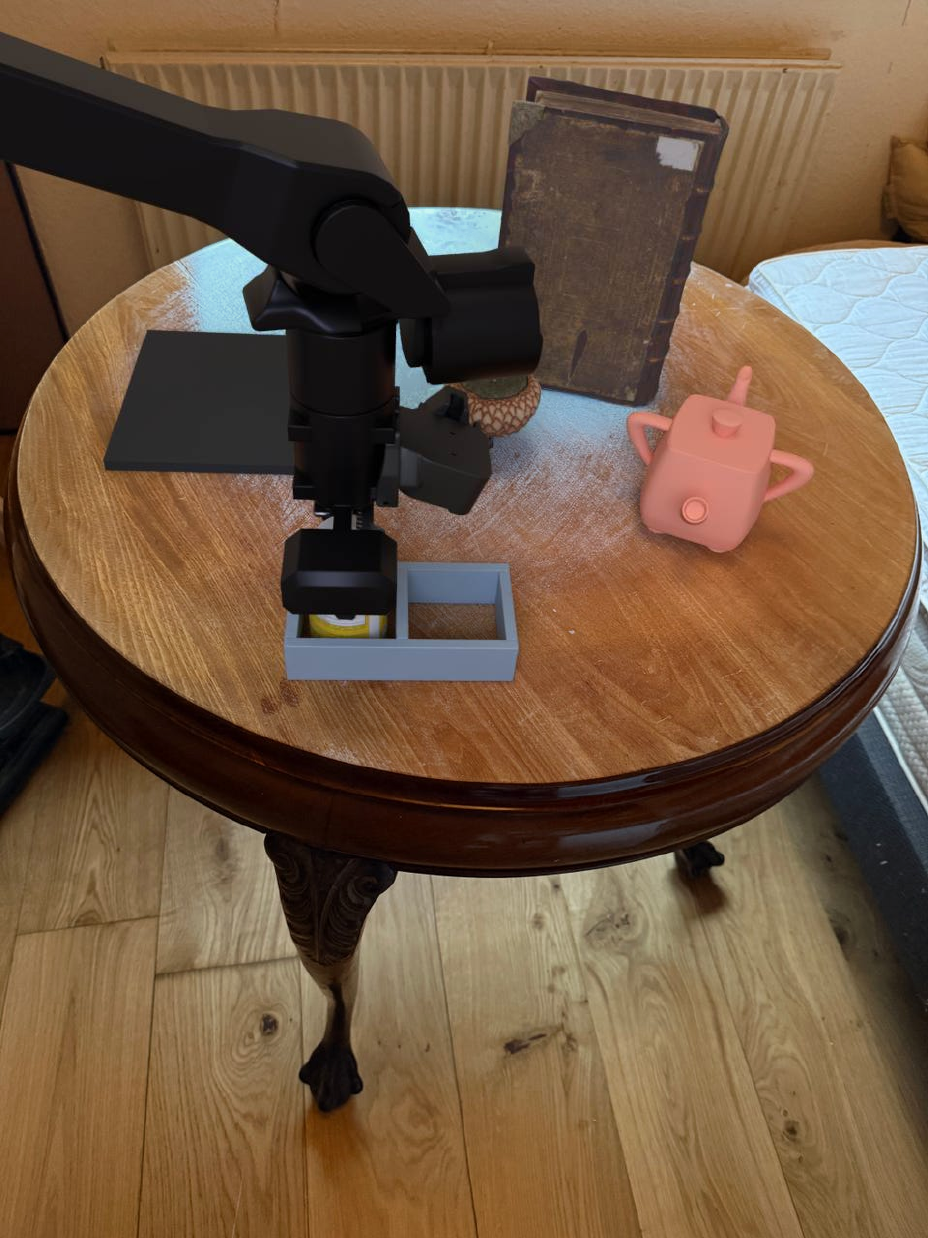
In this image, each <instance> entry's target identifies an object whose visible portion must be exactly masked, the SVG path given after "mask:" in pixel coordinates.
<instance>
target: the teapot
mask: <svg viewBox="0 0 928 1238" xmlns="http://www.w3.org/2000/svg"><path fill="white" fill-rule="evenodd" d="M753 373H754V371H753V368H752V366H750V365H744V366H742V368H741V369H739V371H738V372H737V374H736V377H735V378H734V382H733V384H732V386H731V388H730V390H729V391H728V393H727V395H726V397H725V398H724V400H722V399H718V398H714V397H712V396H711V397H710V396H707V395H703V394H698V393H695V394H691V395H690V396H688V397H687V398H686V399H685V400H684V402H683V403H682V405H681V406H680V408H679V409H678V410H677V412H676V414H675V415H674V417H673V418H669V417H667V416H664V415H661V414H659V413H658V414H657V413H654V412H650V411H643V410H636V411H633V412H630V414H628V416H627V418H626V420H625V426H626V427H625V428H626V431H627V435H628V438H629V440H630V442H631V444H632V445H633V447H634V449H635V450H636V452H637V454H638V455H639V457H640V459H642V461H643V463H644V464H645V465H646V467H647V468H646V472H645V476H644V479H643V482H642V485H641V491H640V497H639V498H640V499H639V514H640V518H641V519H640V520H641V523H643V525H644V526H646V527H647V529H648V530H649V531H651V532H652V533H654V534H667V535H670V536H673V537H675V538H679V539H682V540H685V541H688V542H692V543H694V544H698V545H702V546H705V547H706V548H707V549H709V550H710V551H711V552H715V553H720V554H721V553H726V552H731V551H732V550H734V549H736V548H737V547H738V546H739V545H740V544H741V543H742V542H744V540H745V538H746V537H747V536H748V534H749V533H750V532H751V530H752V529H753V526H754V524H755V523H756V521H757V519H758V518H759V515H760V513H761V509H762V507H763V504H764V503H767V502H770V501H773V500H775V499H778V498H780V497H782V496H785V495H787V494H790V493H792V492H794V491H796V490H799V489H800V488H802V487H803V486H805V485H806V484H807V483H808V482H809V481H810V480H811V479H812V478H813V476H814V474H815V467H814V465H813V463H812V462H811V461H809V460H808V459H806V458H804V457H802V456H800V455H797V454H794V453H790V452H787V451H783V450H779V449H775V439H776V438H775V437H776V420H775V418H774V417H773V416H772V415H770V414H768V413H765V412H762V411H759V410H757V409H753V408H750V407H747V406H746V403H747V397H748V392H749V387H750V385H751V381H752V378H753ZM645 427H649V428H653V429H658V430H661V431H664V433H663V435H662V436H661V438H660V440H659V442H658V444H657V446H656V448H655V449H654V451H653V450H652V448H651V446H650V444H649V442H648V439H647V436H646V432H645ZM773 464H776V465H780V466H783V467H785V468H787V469H790V470H791V473H790V474H788V475H787V476H786V477H785V478H784V479H782V480H780V481H779V482H777V483H775V484H773V485H772V486H769V483H770V480H771V474H772V467H773Z"/></svg>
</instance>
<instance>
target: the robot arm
mask: <svg viewBox="0 0 928 1238" xmlns="http://www.w3.org/2000/svg"><path fill="white" fill-rule="evenodd" d="M0 161H2V162H5V163H8V164H9V163H10V164H12V165H16V166H19V167H23V168H26V169H29V170H32V171H36V172H39V173H43V174H46V175H50V176H52V177H55V178H59V179H62V180H65V181H69V182H72V183H76V184H80V185H81V186H86V187H89V188H93V189H96V190H99V191H103V192H106V193H109V194H113V195H116V196H119V197H122V198H126V199H128V200H132V201H136V202H139V203H142V204H146V205H149V206H153V207H155V208H159V209H163V210H164V211H165V210H166V211H169V212H173V213H176V214H179V215H183V216H186V217H188V218H192V219H194V220H196V221H199V222H201V224H202V223H203V224H204V225H206V226H209V227H211V228H213V229H215V230H216V231H219V232H220V233H222V234H223V235H225V237H227V238H229V239H230V240H232V241H233V242H235V243H236V244H237V245H239V246H240V247H242V248H243V249H244V250H246V251H247V252H248V253H250V254H251V255H253V256H254V257H256V258H257V259H258V260H260V261H261V262H263V263H264V264H265V265H266V267H265V269H264V270H263V271H262V272H261V273H259V274H258V275H255V276H254V277H253V278H252V279H251V280H250V281H248V282H247V283H246V284H245V285H244V286H243V287H242V290H241V292H242V297H243V301H244V304H245V308H246V311H247V316H248V320H249V323H250V326H251V328H252V329H253V330H254V331H255V332H258V333H259V332H260V333H263V332H275V331H284V332H285V335H286V347H287V360H288V373H289V389H290V409H289V417H288V424H287V428H288V441H293V442H294V455H295V465H294V474H293V475H292V483H291V488H292V489H291V491H292V500H293V501H294V500H295V501H313V507H312V514H313V517H315V518H321V520H322V522H323V521H325V520H326V519H328V518H330V517H333V516H334V518H333V529H317V528H307V527H305V528H304V527H301V528H300V529H298V530H296V531H295V532H294V533H293V534H292V535H290V536H289V537H287V538H286V539H285V540H284V546H283V547H284V548H283V557H282V565H281V573H280V583H279V584H280V594H281V602H282V603H281V604H282V607H283V608H284V609H285V610H286V612H287V611H289V612H290V613H291V614H296V615H304V616H307V615H308V616H309V615H335V617H336V618H337V619H339V620H353V619H355V617H356V615H375V616H387V615H390V614H391V613H392V612H393V611H394V612H395V609H396V608H397V561H398V542H397V541H396V540H395V539H394V538H393V537H391V536H390V535H388V534H387V533H386V530H385V528H384V527H382V526H380V525H377V524H375V506H376V507H378V508H397V509H398V508H399V499H400V492H401V493H402V494H403V495H404V496H406V497H408V498H410V499H413V500H416V501H419V502H422V503H425V504H429V505H432V506H435V507H439V508H442V509H446V510H447V511H448V513H450V514H451V515H454V516H455V515H456V516H467V515H469V514H470V512H471V511H472V509H473V507H474V506H475V504H476V503H477V501H478V499H479V498H480V495H481V494H482V492H483V490H484V488H485V487H486V485H487V484H488V481H489V480H490V479H491V477H492V475H493V466H492V457H491V449H490V447H489V440H488V438H487V436H486V435H485V434H484V433H483V432H482V427H481V423H480V422H478V421H475V422H474V424H473V426H471V425H470V422H469V406H468V396H467V393H466V392H465V391H463V390H460V389H457V388H454V387H451V386H449V385H446V386H445V387H444V386H443V387H441V389H439V390H438V391H436V392H434V394H432V395H431V396H430V397H428V398H426V400H425V401H424V402H423V401H420V402H419V403H418V406H417V407H414V408H411V407H406V406H402V405H401V386H399V385H396V367H397V328H399V336H400V337H399V338H400V344H401V348H402V354H403V356H404V357H403V358H404V360H405V362H406V364H407V366H408V367H409V368H410V369H414V368H415V369H417V368H421V369H422V372H423V374H424V377H425V381H426V383H427V384H429V385H432V386H440V385H444V384H450V383H460V382H469V381H479V380H489V379H498V378H508V377H517V376H527V375H531V374H533V373H534V371H535V370H536V369H537V367H538V364H539V362H540V358H541V354H542V348H543V336H542V334H541V332H540V316H539V307H538V301H537V296H536V292H535V288H534V285H533V281H534V274H535V264H534V263H533V261H532V260H531V258H530V257H529V255H528V254H527V253H526V251H525V250H524V248H523V247H522V246H507V247H499V248H498V247H496V248H493V249H490V250H485V251H473V252H459V253H447V254H445V253H444V254H432V255H431V254H430V255H429V254H428V251H427V250H426V248H425V246H424V244H423V242H422V241H421V239H420V237H419V236H418V234H417V232H416V230H415V228H414V227H413V226H411V214H410V211H409V208H408V206H407V204H406V201H405V199H404V196H403V194H402V192H401V190H400V189H399V187H398V185H397V184H396V182H395V180H394V178H393V176H392V175H391V172H390V171H389V169H388V168H387V165H386V164H385V163H384V161H383V159H382V157H381V155H380V153H379V152H378V150H377V148H376V146H375V145H374V144H373V142H372V141H371V140H370V139H369V137H367V135H366V134H365V133H363V131H362V130H361V129H358V128H357V127H355V126H353V125H352V124H350V123H348V122H346V121H341V120H338V119H334V118H329V117H322V116H317V115H311V114H306V113H305V114H304V113H300V112H295V111H289V110H284V109H279V108H261V109H260V108H259V109H228V108H223V107H216V106H210V105H205V104H202V103H199V102H196V101H194V100H190V99H188V98H185V97H182V96H179V95H177V94H174V93H171V92H169V91H166V90H163V89H161V88H158V87H155V86H152V85H149V84H147V83H144V82H141V81H139V80H136V79H132V78H130V77H127V76H126V75H125V76H124V75H122V74H119V73H116V72H113V71H110V70H108V69H105V68H102V67H99V66H97V65H94V64H91V63H89V62H86V61H83V60H80V59H77V58H74V57H72V56H69V55H66V54H63V53H60V52H58V51H57V50H56V51H55V50H52V49H50V48H47V47H44V46H42V45H39V44H36V43H33V42H31V41H28V40H25V39H22V38H19V37H17V36H14V35H11V34H8V33H6V32H3V31H0ZM397 319H399V321H397ZM397 323H398V325H399V327H397ZM352 515H356V529H352Z"/></svg>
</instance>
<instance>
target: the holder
mask: <svg viewBox="0 0 928 1238" xmlns="http://www.w3.org/2000/svg"><path fill="white" fill-rule="evenodd" d="M409 604H461V605H462V604H466V605H467V604H469V605H470V604H471V605H472V604H474V605H493V606H494V617H495V626H496V636H497V639H445V638H444V639H443V638H441V639H440V638H438V639H436V638H409ZM514 604H515V603H514V595H513V587H512V578H511V570H510V564H509V563H507V562H505V563H503V562H500V563H499V562H453V561H452V562H451V561H450V562H449V561H445V562H444V561H398V560H397V608H396V609H395V610H394V615H395V616H394V619H395V621H394V622H395V624H394V626H395V627H394V630H395V633H394V634H395V637H394V638H386V639H355V638H311V637H304V628H305V627H304V626H305V615H296V614H291V613H290V612H289V611H287V610H286V618H285V628H284V639H283V655H284V665H285V673H286V679H287V680H288V681H417V682H418V681H426V682H429V681H431V682H432V681H435V682H437V681H439V682H442V681H443V682H446V681H447V682H456V681H457V682H513V681H514V679H515V672H516V668H517V661H518V655H519V650H520V647H519V646H520V645H519V638H518V629H517V628H518V627H517V622H516V621H517V620H516V612H515V605H514Z"/></svg>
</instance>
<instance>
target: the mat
mask: <svg viewBox="0 0 928 1238" xmlns="http://www.w3.org/2000/svg"><path fill="white" fill-rule="evenodd" d="M289 409H290V389H289V373H288V360H287V347H286V334H270V333H269V334H268V333H266V334H265V333H244V332H243V333H242V332H219V331H218V332H215V331H193V330H191V331H189V330H167V329H165V330H164V329H147V330H146V332H145V336H144V338H143V341H142V344H141V346H140V350H139V353H138V355H137V359H136V362H135V365H134V368H133V371H132V373H131V376H130V379H129V382H128V385H127V388H126V391H125V395H124V397H123V400H122V403H121V406H120V409H119V412H118V415H117V418H116V421H115V424H114V427H113V430H112V433H111V436H110V438H109V441H108V444H107V448H106V450H105V453H104V456H103V460H102V463H103V466H104V469H105V471H130V472H131V471H132V472H133V471H134V472H169V473H170V472H171V473H175V472H176V473H206V474H207V473H208V474H209V473H210V474H250V475H252V474H253V475H254V474H255V475H286V476H287V475H290V476H293V474H294V465H295V455H294V442H293V441H288V428H287V424H288V417H289Z"/></svg>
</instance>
